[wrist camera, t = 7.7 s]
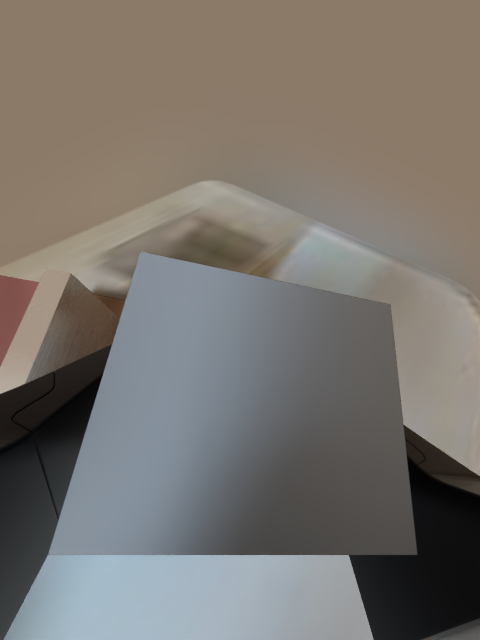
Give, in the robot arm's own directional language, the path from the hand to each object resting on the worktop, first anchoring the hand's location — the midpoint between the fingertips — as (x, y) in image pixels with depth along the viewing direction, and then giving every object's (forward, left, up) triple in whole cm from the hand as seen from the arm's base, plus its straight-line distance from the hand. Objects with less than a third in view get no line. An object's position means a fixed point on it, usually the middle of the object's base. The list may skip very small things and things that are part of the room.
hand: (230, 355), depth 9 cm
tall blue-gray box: (-1, -1, -8) cm, 8 cm away
